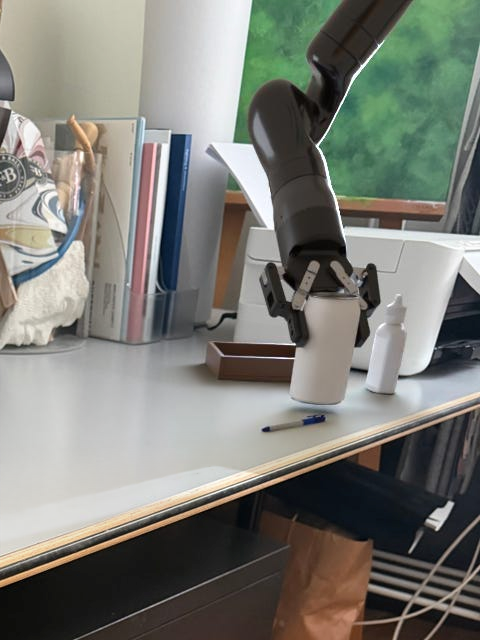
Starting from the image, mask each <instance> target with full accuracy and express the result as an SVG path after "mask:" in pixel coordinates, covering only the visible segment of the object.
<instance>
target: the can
mask: <svg viewBox="0 0 480 640" xmlns="http://www.w3.org/2000/svg"><path fill="white" fill-rule="evenodd" d="M358 299H359V296H357V295H353V294H347V293H344V292H341V293H336V292H332V293H330V292H320V293H318V292H314V293H309V298H308V300H307V302H306V301H305V302H304V304H303V306H302V309H301V311H304V312H305V317H306V322H307V327H308V332H309V339H308V341H307V343H306V344H305V346H304V347H303V348H296V353H295V359H294V366H293V372H292V379H291V382H290V387H289V393H288V394H289V396H290V398H291V400H292V401H295V402H297V403H301V404H306V405H313V406H333V405H334V406H336V405H339V404H341V403H342V401H345V397H346V392H347V387H348V382H349V377H350V372H351V367H352V361H353V356H354V351H355V348H354V345H355V340H356V334H357V329H358V323H359V317H360V307H359V304H358Z"/></svg>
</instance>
